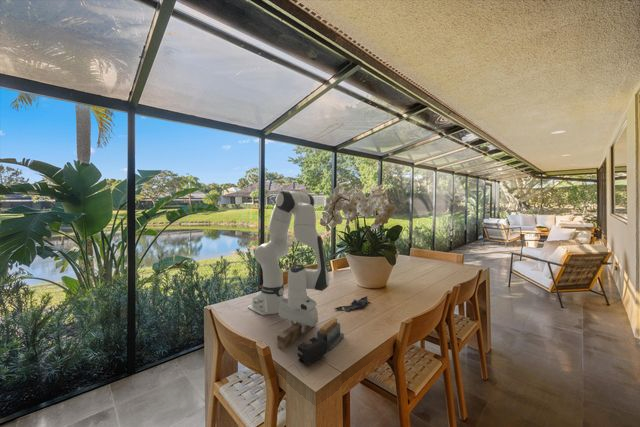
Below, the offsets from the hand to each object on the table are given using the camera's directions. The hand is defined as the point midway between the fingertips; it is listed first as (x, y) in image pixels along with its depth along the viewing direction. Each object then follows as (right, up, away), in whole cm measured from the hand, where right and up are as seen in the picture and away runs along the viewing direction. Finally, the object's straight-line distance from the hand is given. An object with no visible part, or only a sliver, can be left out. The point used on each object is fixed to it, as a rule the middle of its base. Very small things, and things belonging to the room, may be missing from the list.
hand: (297, 330), depth 120 cm
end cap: (+7, -3, -18) cm, 20 cm away
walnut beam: (0, -2, 0) cm, 2 cm away
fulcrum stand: (+14, -2, -5) cm, 15 cm away
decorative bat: (+32, -1, +32) cm, 45 cm away
